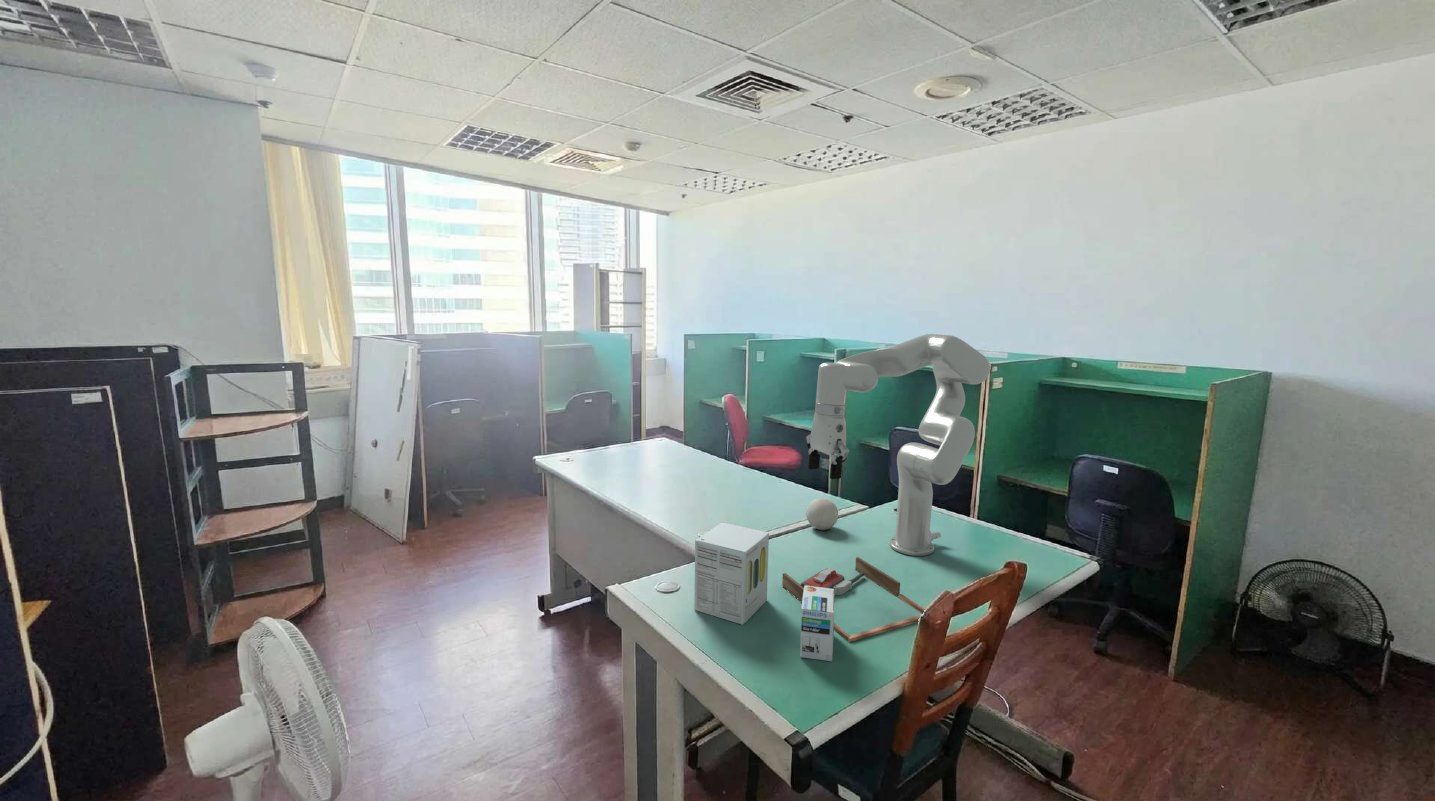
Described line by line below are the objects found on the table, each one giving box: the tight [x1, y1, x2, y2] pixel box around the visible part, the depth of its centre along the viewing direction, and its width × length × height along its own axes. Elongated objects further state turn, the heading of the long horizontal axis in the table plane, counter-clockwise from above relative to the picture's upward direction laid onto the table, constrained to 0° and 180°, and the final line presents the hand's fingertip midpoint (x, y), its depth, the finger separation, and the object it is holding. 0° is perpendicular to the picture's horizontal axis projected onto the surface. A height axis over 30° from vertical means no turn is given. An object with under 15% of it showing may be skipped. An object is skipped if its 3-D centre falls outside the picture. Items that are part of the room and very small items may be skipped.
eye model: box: [805, 497, 839, 531], centre depth 185 cm, size 10×10×10 cm
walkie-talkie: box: [800, 567, 865, 596], centre depth 148 cm, size 9×4×20 cm
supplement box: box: [693, 522, 770, 626], centre depth 137 cm, size 13×13×18 cm
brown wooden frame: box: [781, 556, 927, 643], centre depth 140 cm, size 24×27×4 cm
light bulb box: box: [799, 585, 835, 662], centre depth 122 cm, size 11×7×11 cm, turn 168°
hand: (824, 473), depth 154 cm, fingers open, 9 cm apart
